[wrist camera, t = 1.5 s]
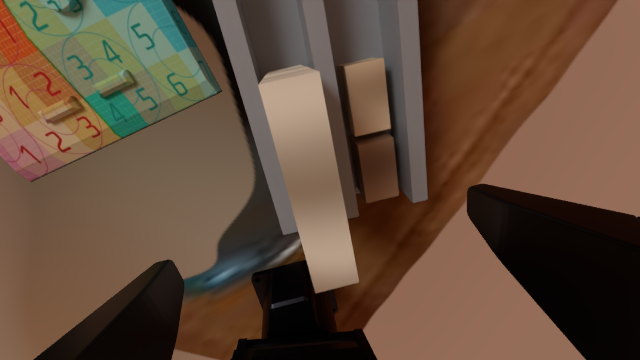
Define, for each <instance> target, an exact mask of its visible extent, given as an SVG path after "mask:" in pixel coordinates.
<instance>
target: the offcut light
mask: <svg viewBox="0 0 640 360" xmlns="http://www.w3.org/2000/svg"><path fill="white" fill-rule="evenodd" d="M337 67H338V73H339V79H340V85H341V91H342V97H343V103H344V110H345V116H346V122H347V128H348V129H349V130H350V131H351V133H352V134H353V135H354V136H355V137H356V136H361V135H365V134H369V133H373V132H378V131H382V130H386V129H391V125H390V115H389V105H388V95H387V85H386V76H385V66H384V58H368V59H364V60H359V61H355V62H350V63H346V64H341V65H337Z"/></svg>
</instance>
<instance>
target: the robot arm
mask: <svg viewBox="0 0 640 360" xmlns="http://www.w3.org/2000/svg"><path fill="white" fill-rule="evenodd" d="M467 213H468V216H469V218H470V220H471V221H472V222H473V224H474V225H475V227H476V228H477V229H478V231H479V232H480V234H481V235H482V237H483V238H484V240H486V242H487V244H488V245H489V247H490V248H491V250H492V251H493V252H494V254H495V255H496V256H497V257H498V259H499V260H500V261H501V262H502V264H503V265H504V266H505V267H506V268H507V269H508V271H510V273H511V274H512V275H513V276H514V277H515V279H516V280H517V281H518V282H519V283H520V284H521V285H522V287H523V288H524V289H525V290H526V291H527V292H528V294H529V295H530V296H531V297H532V298H533V299H534V301H535V302H536V303H537V304H538V305H539V306H540V307H541V308H542V310H543V311H544V312H545V313H546V314H547V315H548V316H549V318H550V319H551V320H552V321H553V322H554V324H556V326H557V327H558V328H559V329H560V330H561V332H563V334H564V335H565V336H566V337H567V338H568V340H569V341H570V342H571V343H572V344H573V345H574V347H575V348H576V349H577V350H578V351H579V352H580V353H581V355H582V356H583V357H584V358H585V359H586V360H640V217H636V216H634V215H630V214H625V213H620V212H616V211H611V210H606V209H601V208H597V207H592V206H587V205H582V204H577V203H573V202H568V201H563V200H558V199H553V198H549V197H544V196H540V195H535V194H530V193H525V192H520V191H515V190H511V189H506V188H501V187H497V186H492V185H487V184H478V185H474V186H471V187H469V188H468V191H467ZM256 278H260V279H256ZM252 284H253V286H254V289H255V291H256V294H257V296H258V299H259V302H260V304H261V307H262V309H263V323H262V339H251V340H247V338H245V339H239V340H238V345H237V349H236V350H234V353H233V357H232V359H230V360H377V358H376V356H375V354H374V352H373V350H372V348H371V346H370V344H369V342H368V340H367V338H366V336H365V334H364V332H363V330H362V329H354V331H346V332H337V327H336V322H335V318H334V314H335V313H336V312H337V311H338V307H337V303H336V299H335V295H334V291H333V289H331V290H327V291H323V292H319V293H315V290H314V286H313V283H312V279H311V275H310V272H309V268H308V264H307V261H306V260H304V261H300V262H296V263H292V264H288V265H284V266H280V267H276V268H272V269H268V270H264V271H260V272H256V273H254V274H253V275H252ZM183 293H184V281H183V278H182V277H181V275H180V273H179V271H178V269H177V267H176V266H175V264H174V262H173V261H172V260H165V261H160V262H157V263H155V264H153V265H152V266H151V267H150V268H148V269H147V270H146V271H145V272H143V273H142V274H141V275H139V276H138V277H137V278H136V279H134V280H133V281H132V282H131V283H129V284H128V285H127V286H126V287H124V288H123V289H122V290H121V291H119V292H118V293H117V294H115V295H114V296H113V297H112V298H110V299H109V300H108V301H107V302H105V303H104V304H103V305H102V306H101V307H99V308H98V309H97V310H95V311H94V312H93V313H92V314H90V315H89V316H88V317H86V318H85V319H84V320H83V321H82V322H80V323H79V324H78V325H76V326H75V327H74V328H73V329H71V330H70V331H69V332H68V333H66V334H65V335H64V336H63V337H61V338H60V339H59V340H57V341H56V342H55V343H54V344H52V345H51V346H50V347H49V348H47V349H46V350H45V351H44V352H42V353H41V354H40V355H39V356H37V357H36V358H35V359H34V360H171V359H172V355H173V351H174V347H175V343H176V338H177V333H178V327H179V320H180V314H181V307H182V300H183Z"/></svg>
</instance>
